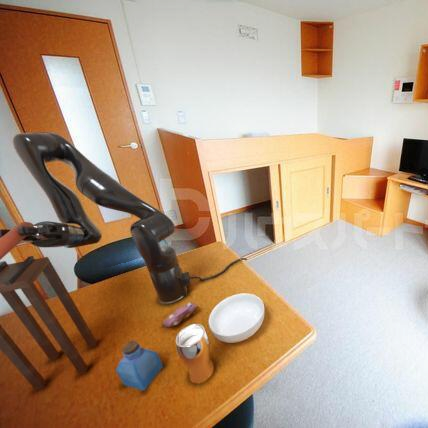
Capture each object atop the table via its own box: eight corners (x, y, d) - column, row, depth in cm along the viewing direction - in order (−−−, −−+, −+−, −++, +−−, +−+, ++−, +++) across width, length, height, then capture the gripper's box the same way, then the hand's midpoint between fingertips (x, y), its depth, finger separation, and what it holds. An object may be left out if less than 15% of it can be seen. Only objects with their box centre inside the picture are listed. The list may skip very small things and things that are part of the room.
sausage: (23, 231, 62) (17, 221, 61) (39, 228, 64) (33, 218, 62) (-35, 280, 46) (-45, 267, 44) (-12, 275, 47) (-21, 263, 46)
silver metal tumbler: (221, 368, 66) (211, 331, 60) (197, 391, 61) (184, 353, 55) (205, 355, 70) (195, 318, 63) (182, 375, 64) (168, 338, 58)
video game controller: (169, 334, 77) (170, 325, 73) (161, 324, 78) (161, 314, 74) (197, 313, 85) (199, 304, 81) (189, 304, 86) (191, 295, 82)
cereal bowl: (244, 300, 89) (242, 285, 86) (276, 322, 81) (275, 307, 78) (201, 332, 77) (197, 316, 74) (234, 362, 68) (230, 346, 65)
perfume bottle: (144, 390, 61) (128, 360, 56) (124, 385, 62) (107, 355, 57) (163, 366, 67) (150, 337, 61) (144, 362, 68) (130, 333, 63)
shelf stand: (97, 342, 73) (45, 253, 59) (86, 372, 65) (24, 277, 51) (53, 356, 69) (-14, 264, 54) (35, 390, 61) (-48, 292, 47)
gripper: (19, 227, 69) (-38, 222, 53) (82, 218, 75) (47, 211, 59) (23, 252, 69) (-32, 255, 53) (86, 241, 75) (53, 240, 59)
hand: (10, 232), depth 56 cm, fingers closed on sausage, 3 cm apart
